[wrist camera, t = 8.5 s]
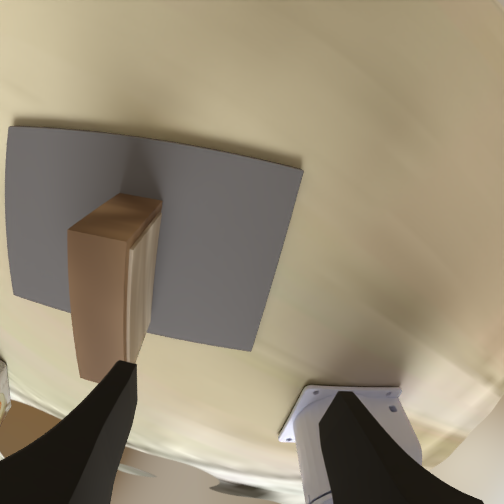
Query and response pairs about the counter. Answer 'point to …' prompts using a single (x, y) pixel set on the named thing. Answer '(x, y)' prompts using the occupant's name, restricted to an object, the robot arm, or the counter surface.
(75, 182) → the mat
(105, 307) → the slab
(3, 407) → the coffee box
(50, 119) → the counter surface
